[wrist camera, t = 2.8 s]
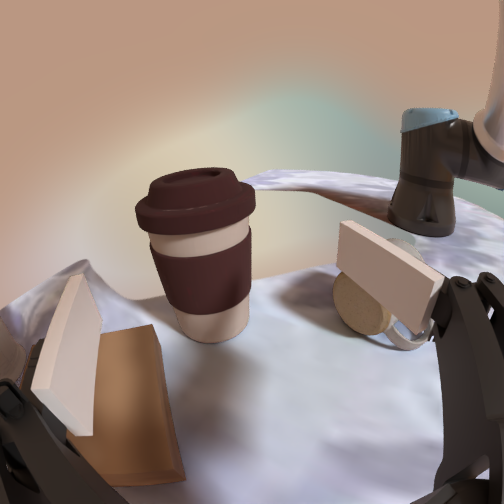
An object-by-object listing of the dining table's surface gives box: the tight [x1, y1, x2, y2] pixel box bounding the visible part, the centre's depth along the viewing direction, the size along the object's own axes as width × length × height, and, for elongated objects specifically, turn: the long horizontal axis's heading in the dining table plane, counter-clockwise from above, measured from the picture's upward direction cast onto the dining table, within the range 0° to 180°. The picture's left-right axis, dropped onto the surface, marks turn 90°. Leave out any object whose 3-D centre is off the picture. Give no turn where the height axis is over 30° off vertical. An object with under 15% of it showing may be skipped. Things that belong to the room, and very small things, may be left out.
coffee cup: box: [135, 167, 256, 343], centre depth 24 cm, size 10×10×15 cm
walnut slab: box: [19, 324, 186, 487], centre depth 16 cm, size 14×14×3 cm
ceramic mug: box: [333, 238, 434, 350], centre depth 24 cm, size 11×8×8 cm
